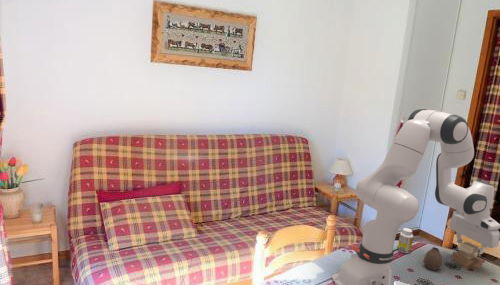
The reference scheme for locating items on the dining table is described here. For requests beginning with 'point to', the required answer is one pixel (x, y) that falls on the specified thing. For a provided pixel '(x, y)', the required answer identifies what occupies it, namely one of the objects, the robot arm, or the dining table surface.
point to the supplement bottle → (405, 240)
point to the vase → (433, 259)
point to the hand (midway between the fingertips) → (469, 247)
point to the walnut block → (467, 261)
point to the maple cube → (468, 250)
